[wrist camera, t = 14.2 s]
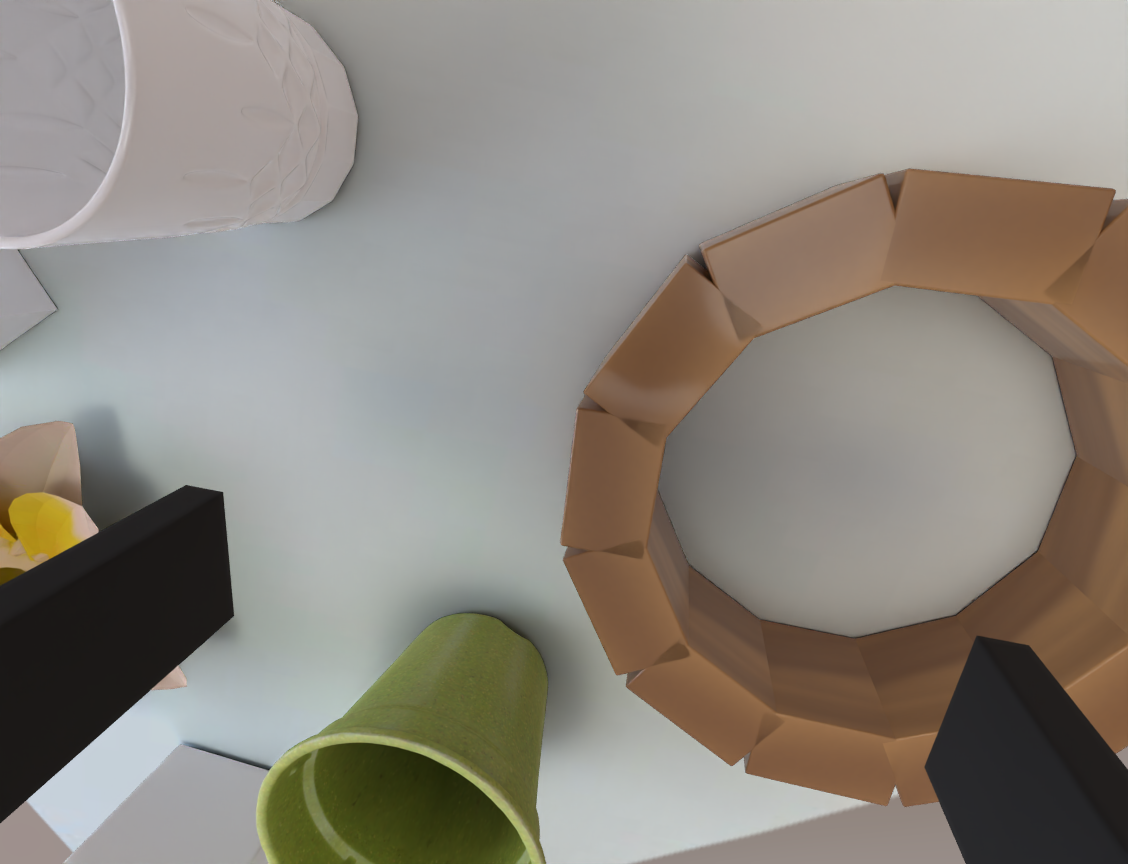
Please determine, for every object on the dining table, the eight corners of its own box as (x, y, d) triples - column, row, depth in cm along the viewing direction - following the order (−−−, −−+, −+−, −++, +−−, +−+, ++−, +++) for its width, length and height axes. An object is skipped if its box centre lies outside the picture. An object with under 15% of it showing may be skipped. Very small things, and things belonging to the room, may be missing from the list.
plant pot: (609, 754, 27) (576, 975, 19) (414, 763, 30) (312, 964, 22) (559, 564, 25) (499, 726, 17) (351, 589, 27) (210, 743, 19)
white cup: (409, 52, 20) (171, -98, 11) (336, 277, 23) (97, 313, 14) (194, -58, 20) (-220, -296, 11) (148, 180, 23) (-215, 149, 14)
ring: (627, 158, 20) (609, 138, 15) (1276, 225, 18) (1490, 225, 13) (564, 635, 26) (537, 725, 21) (1042, 737, 24) (1130, 864, 19)
